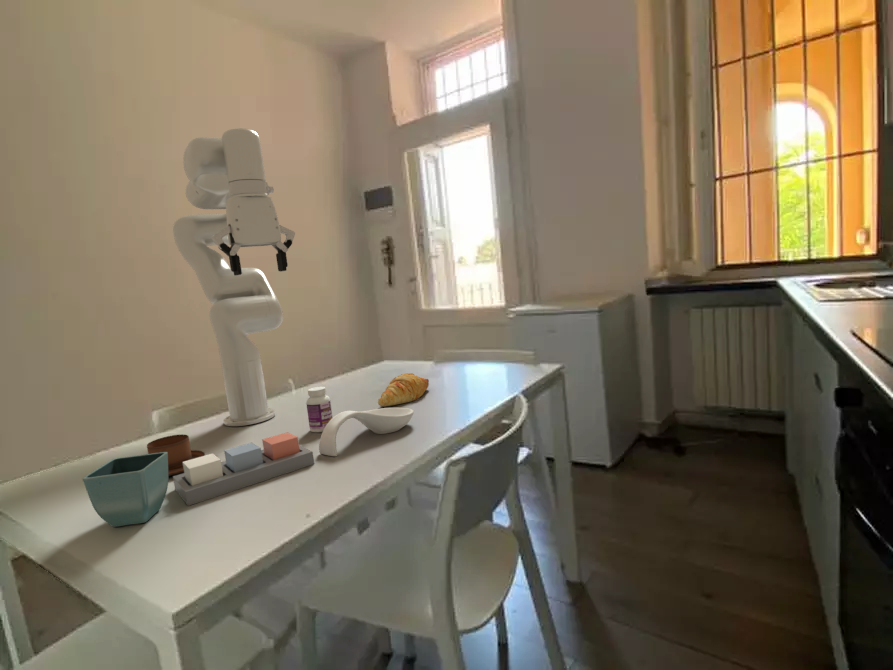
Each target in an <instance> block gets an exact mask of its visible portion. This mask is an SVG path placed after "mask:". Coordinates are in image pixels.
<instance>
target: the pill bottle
mask: <svg viewBox="0 0 893 670" xmlns="http://www.w3.org/2000/svg"><path fill="white" fill-rule="evenodd" d="M326 394H327V389H326V387H325V386H315V387H311V388H308V389H307V395H308V398H307V400H306V403H305V404H306V411H307V416H308V425H309V430H310V432H312V433H322V432H323V430H324V428H325V427H326V425H327V424H328V422H329V421H330V420H331V419H332V418H333V412H332V411H333V410H332V402H331V398H330V396H329V395H326Z"/></svg>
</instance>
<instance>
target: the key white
mask: <svg viewBox="0 0 893 670" xmlns="http://www.w3.org/2000/svg"><path fill="white" fill-rule="evenodd" d="M221 462H222V461H221V458H219V457H218V456H216V455H215V454H214V452H213V453H208V454H205V456H202V457H198V458H195V459H191V460H188V461H184V462H183V468H184V472H183V473H184V474H185V479H186V480H187V481H188V482H189V483H190V484H191V485H192V486H193V485H196V484H199V483H203V482H206V481H209V480H212V479H215V478H219V477H222V476H223V472H222V466H221Z"/></svg>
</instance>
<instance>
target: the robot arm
mask: <svg viewBox="0 0 893 670" xmlns="http://www.w3.org/2000/svg"><path fill="white" fill-rule="evenodd" d="M182 163H183V169H184V173H185V175H186V177H187V179H188V182H187V185H186V187H185V196H186V199H187V201H188V202H189V204H190V205H191V206H194V207H195V208H198V209H202V210H225V211H226V213H214V214H213V213H212V214H210V213H207V214H206V213H205V214H202V213H201V214H199V213H198V214H189V215H183V216H181V217H179V218H177V219H176V220H175V221H174V224H173V226H172V227H173V228H172V233H173V238H174V241H175V242H174V243H175V245H176V247H177V248H176V249H178V252H179V253H180V256H182V258H183V260H185V261H186V263H187V264H188V265H189V267H191V269H192V270H193V271H194V273H195V275H196V277H197V280H198V282H199V284H200V286H201V288H202V291H203V293H204V296H205V298H206V299H207V300H208V301H209V303H210V304H212V305H211V306H210V307H209V308H210V309H209V310H208V311H209V312H208V313H209V314H208V316H209V320H210V324H211V327H212V330H213V333H214V336H215V340H216V344H217V347H218V353H219V359H220V363H221V364H220V365H221V369H222V375H223V376H222V377H223V383H224V388H225V389H224V390H225V394H226V401H227V406H228V414H229V415H227V416H226V417H225V418H224V419H223V424H224V426H227V427H245V426H249V425H255V424H259V423H262V422H263V423H264V422H266V421H268V420H270V419H272V418H274V417H275V416H276V410H275V409H274V408H269V404H268V399H267V398H268V397H267V391H266V383H265V377H264V372H263V371H264V370H263V364H262V358H261V352H260V350H259V349H260V348H259V347H258V345H256V344H255V343H254V342H253V341H252V340H251V339H250V338H249V337H248V336H247V335H251V334H256V333H263V332H267V331H274V330H276V329H278V328H279V327H280V326H281V325H282V323H283V321H284V314H283V308H282V305H281V303H280V301H279V299H278V297H277V295H276V293H275V291H274V289H273V288H272V285H271V283H270V282H269V280H268V278H267V276H266V274H265V273H264V272H263V271H262V270H261V269H259V268H257V267H242V265H241V258H240V256H239V254H238V252H239V250H240V248H250V247H253V248H254V247H266V246H267V247H268V246H271V247H272V248H274V249H275V250H276V251H277V253H276V254H275V256H276V264H277V270H278V272H286V271H287V267H289V266H288V265H289V264H288V257H287V252H288V251H289V249H290V247H291V246H292V245H293V241H294V239H295V236H296V232H295V231H294V230H291V229H289V228H287V227H285V226H283V225H281V224H280V223H279V217H278V215H277V210H276V207H275V204H274V202H273V201H274V200H273V199H272V197H271V196H269V195H270V194H273V193H274V186H273V185H272V186H270V185H269V184H268V182H267V179H266V172H265V165H264V159H263V151H262V144H261V138H260V136H259V134H258V133H257V132H256V131H255V130H253V129H249V128H238V127H237V128H231V129H228V130H226V131H224V132H223V133H222V135H221V138H219V137H208V136H207V137H205V136H204V137H203V136H202V137H201V136H200V137H195V138H193V139H192V140H190V141H189V143H188V144H187V146H186V148H185V149H184V152H183V161H182ZM282 234H283V235H284V236H286V237H285V241H284V242H282V240H281V239H282ZM229 245H230V246H229ZM210 246H217V247H218V249H219V250H220V251H222V252H223V253H224V254H225V255H226V256H227V258H228V259H229V262H228V260H227V259H226V258H225V257H224V256H223V255H222V253H219V252H218V251H216V250H215V249H213V248H211V247H210ZM228 263H229V264H228Z"/></svg>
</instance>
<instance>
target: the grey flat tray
mask: <svg viewBox="0 0 893 670" xmlns="http://www.w3.org/2000/svg"><path fill="white" fill-rule="evenodd" d="M299 450H300V452H299V453H295V454H292V455H289V456H286V457H283V458H279V459H276V460H273V459H271V458H269V457H268V456H266V455H265V454H264V449H261V453H262V459H263V464H260V465H257V466H254V467H251V468H247V469H244V470H241V471H238V472H234V471H232V470H231V469H230V468H229V467H227V465H226V460H223V461H221V466H222V472H223V476H222V477H219V478H215V479H212V480H209V481H206V482H203V483H199V484H196V485H193V486H192V485H191V484H190V483H189V482H188V481H187V480H186V479H185V474H184V472H182V473H179V474H175V475H172V481H173V486H174V491H176V493H177V494H178V495H179V496H180V498H181V499H182V500H183V501H184V503H185V504H186V505H187V506H188V507H189V506H192V505H195V504H199V503H201V502H204V501H208V500H211V499H213V498H217V497H219V496H222V495H225V494H228V493H231V492H234V491H238V490H240V489H243V488H246V487H249V486H252V485H255V484H259V483H261V482H264V481H267V480H270V479H273V478H276V477H277V478H278V477H279V476H282V475H285V474H288V473H291V472H294V471H298V470H301V469H303V468H306V467H310V466H313V465H315V459H314V452H313V451H312V450H310V449H308V448H306V447H304V446H302V445H300V444H299Z"/></svg>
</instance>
